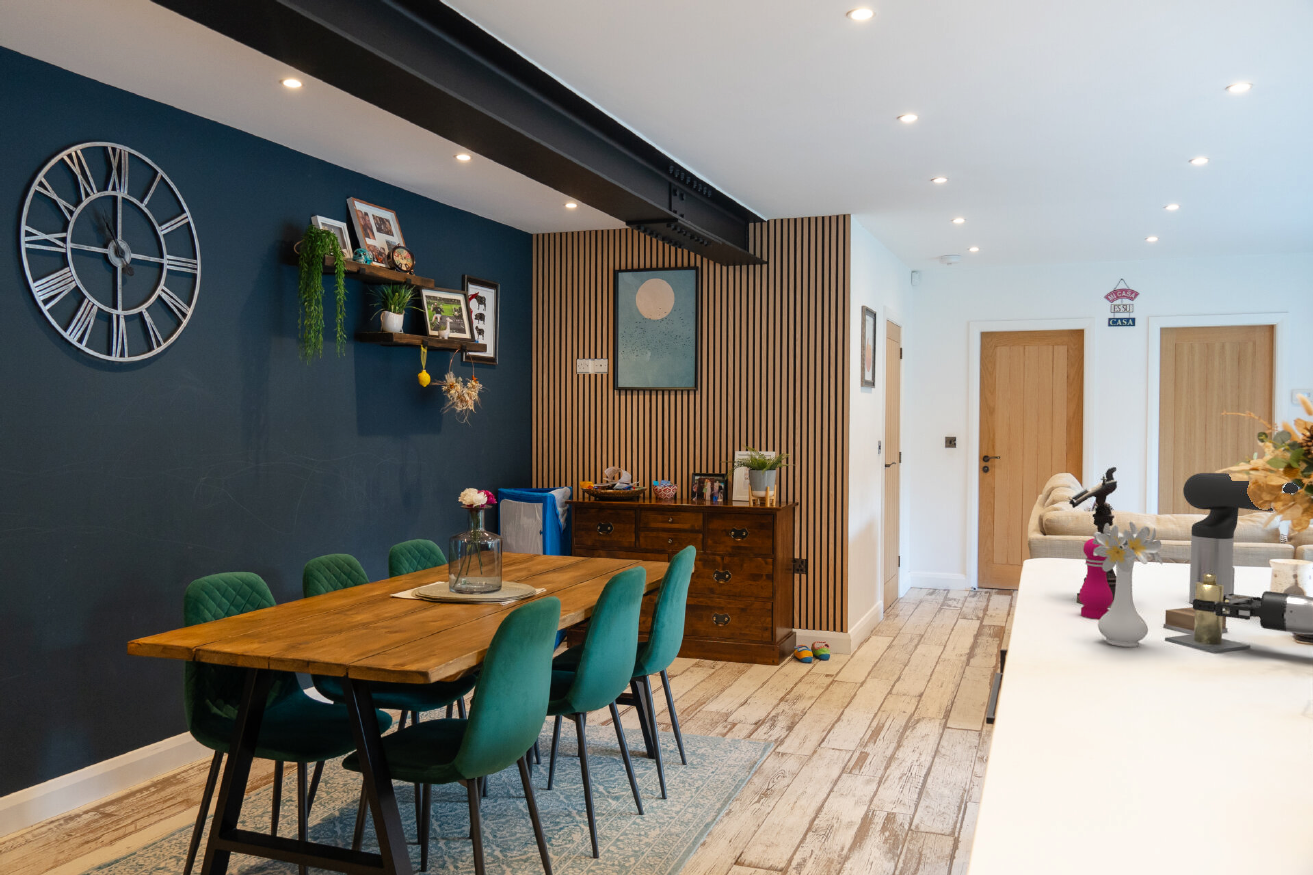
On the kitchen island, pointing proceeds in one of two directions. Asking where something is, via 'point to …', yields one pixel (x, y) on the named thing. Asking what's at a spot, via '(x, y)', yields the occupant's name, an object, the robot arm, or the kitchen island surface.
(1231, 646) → the slate mat
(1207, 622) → the gold knobbed bottle
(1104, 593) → the pepper mill
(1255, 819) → the kitchen island surface
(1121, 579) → the flower vase
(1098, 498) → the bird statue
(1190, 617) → the plane block
